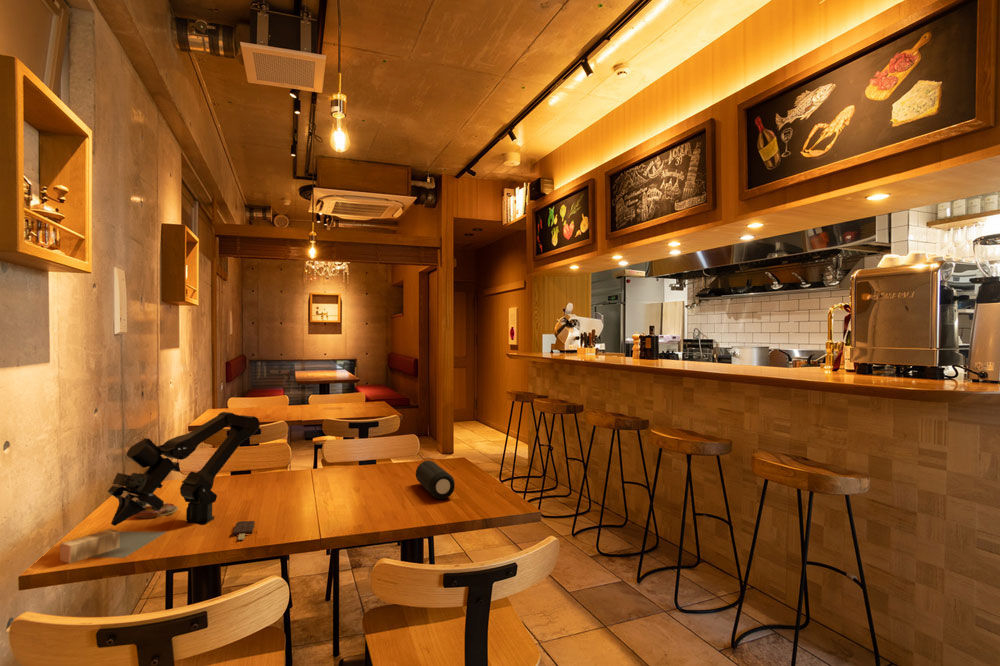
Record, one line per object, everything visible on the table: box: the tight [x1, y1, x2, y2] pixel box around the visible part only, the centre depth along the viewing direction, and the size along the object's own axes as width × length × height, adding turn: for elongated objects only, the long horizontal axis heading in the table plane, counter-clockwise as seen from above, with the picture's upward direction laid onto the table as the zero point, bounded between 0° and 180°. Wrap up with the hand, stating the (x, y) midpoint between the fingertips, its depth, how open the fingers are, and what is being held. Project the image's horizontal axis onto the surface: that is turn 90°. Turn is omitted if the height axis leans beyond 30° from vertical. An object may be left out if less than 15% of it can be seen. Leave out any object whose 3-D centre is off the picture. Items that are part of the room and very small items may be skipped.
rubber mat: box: [87, 531, 167, 559], centre depth 153 cm, size 15×19×1 cm
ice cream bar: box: [232, 520, 256, 542], centre depth 164 cm, size 5×2×15 cm
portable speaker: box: [415, 460, 456, 500], centre depth 210 cm, size 26×10×10 cm, turn 23°
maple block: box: [59, 528, 121, 564], centre depth 145 cm, size 4×4×12 cm
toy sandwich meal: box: [134, 502, 179, 519], centre depth 180 cm, size 12×14×5 cm
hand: (112, 524), depth 150 cm, fingers closed
